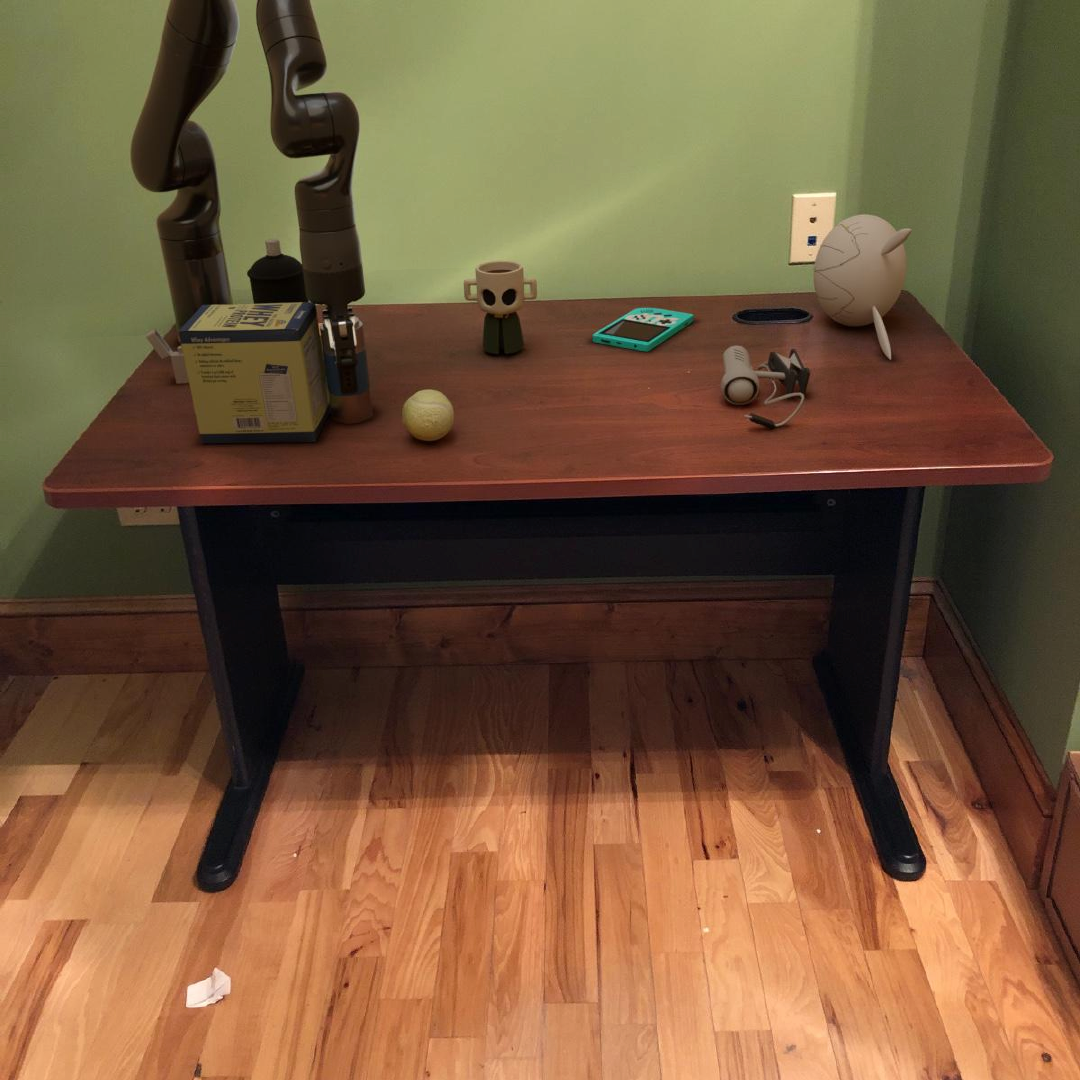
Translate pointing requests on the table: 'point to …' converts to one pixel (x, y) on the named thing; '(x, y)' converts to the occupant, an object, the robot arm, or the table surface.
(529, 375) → the table surface
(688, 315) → the handheld game console
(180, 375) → the lighter
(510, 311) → the character mug
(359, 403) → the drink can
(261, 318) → the protein box
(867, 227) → the beige egg-shaped piece
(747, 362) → the clip-on lamp
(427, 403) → the tennis ball
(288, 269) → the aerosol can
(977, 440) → the table surface
